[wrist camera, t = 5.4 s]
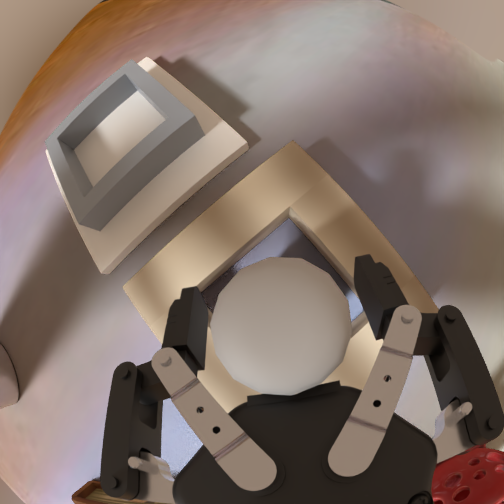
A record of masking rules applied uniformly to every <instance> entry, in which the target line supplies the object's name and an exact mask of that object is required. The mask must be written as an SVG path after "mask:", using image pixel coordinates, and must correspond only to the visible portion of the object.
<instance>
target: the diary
mask: <svg viewBox="0 0 504 504" xmlns="http://www.w3.org/2000/svg"><path fill="white" fill-rule="evenodd" d="M72 501H73V502H74V503H75V504H170V503H160V502H155V503H137V502H131V501H125V500H122V499H119V498H114V497H110V496H108V495H107V494H106V493H105V492H104V491H103V489H102V487H101V484H100V481H93V480H92V481H89V482H87V483H86V484H85V485H84V486H82V487H81V488H80V489H79V490H78V491H76V492H75V493H74V494H73V495H72Z"/></svg>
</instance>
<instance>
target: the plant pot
mask: <svg viewBox="0 0 504 504" xmlns="http://www.w3.org/2000/svg"><path fill="white" fill-rule="evenodd" d="M431 491H432V498H433V501H434V504H504V452H502V451H499V450H495V449H489V448H486V445H485V444H484V445H482V446H480V447H478V448H476V449H474V450H472V451H470V452H468V453H466V454H464V455H455V456H453V457H451V458H448V459H446V460H444V461H442V462H439V463H437V464H436V468H435V471H434V475H433V479H432V488H431Z"/></svg>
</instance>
